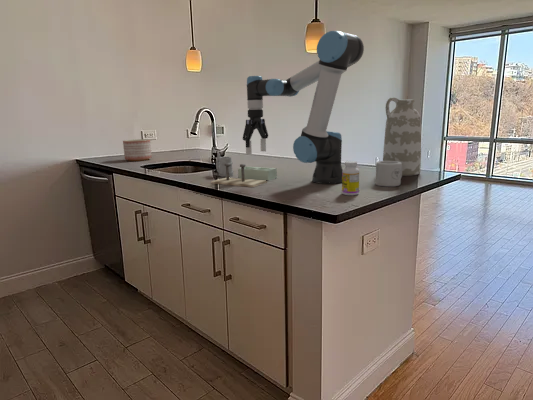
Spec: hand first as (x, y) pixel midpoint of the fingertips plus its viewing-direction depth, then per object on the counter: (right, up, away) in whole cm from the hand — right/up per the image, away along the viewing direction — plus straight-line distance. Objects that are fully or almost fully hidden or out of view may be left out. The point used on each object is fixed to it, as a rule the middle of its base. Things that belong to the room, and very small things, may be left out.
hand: (256, 152), depth 196 cm
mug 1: (-18, -11, +15) cm, 25 cm away
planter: (-91, +6, +97) cm, 133 cm away
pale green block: (+1, -13, +3) cm, 13 cm away
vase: (+74, -10, +6) cm, 75 cm away
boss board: (-8, -16, -9) cm, 20 cm away
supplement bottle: (+39, -21, -40) cm, 60 cm away
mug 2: (+60, -17, -22) cm, 66 cm away
